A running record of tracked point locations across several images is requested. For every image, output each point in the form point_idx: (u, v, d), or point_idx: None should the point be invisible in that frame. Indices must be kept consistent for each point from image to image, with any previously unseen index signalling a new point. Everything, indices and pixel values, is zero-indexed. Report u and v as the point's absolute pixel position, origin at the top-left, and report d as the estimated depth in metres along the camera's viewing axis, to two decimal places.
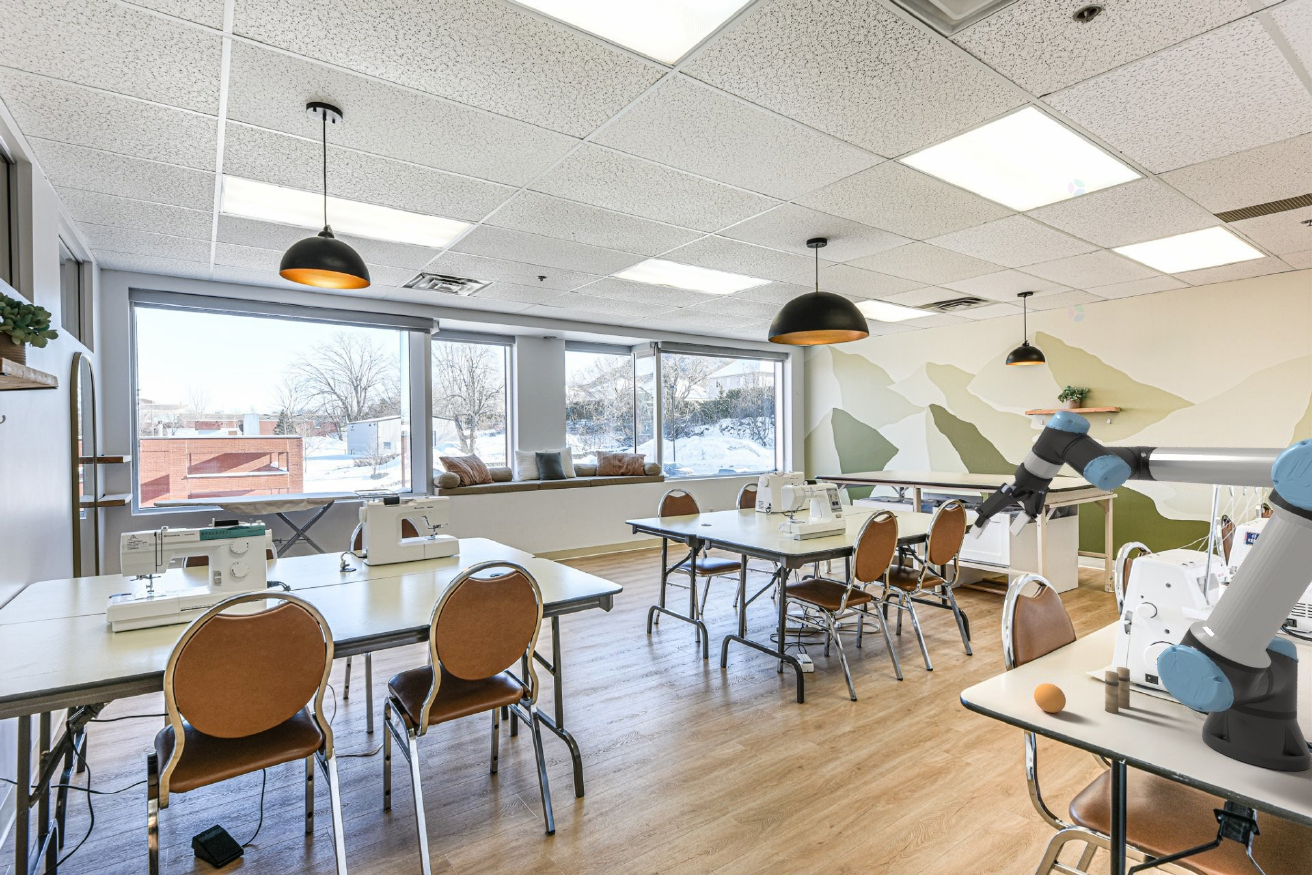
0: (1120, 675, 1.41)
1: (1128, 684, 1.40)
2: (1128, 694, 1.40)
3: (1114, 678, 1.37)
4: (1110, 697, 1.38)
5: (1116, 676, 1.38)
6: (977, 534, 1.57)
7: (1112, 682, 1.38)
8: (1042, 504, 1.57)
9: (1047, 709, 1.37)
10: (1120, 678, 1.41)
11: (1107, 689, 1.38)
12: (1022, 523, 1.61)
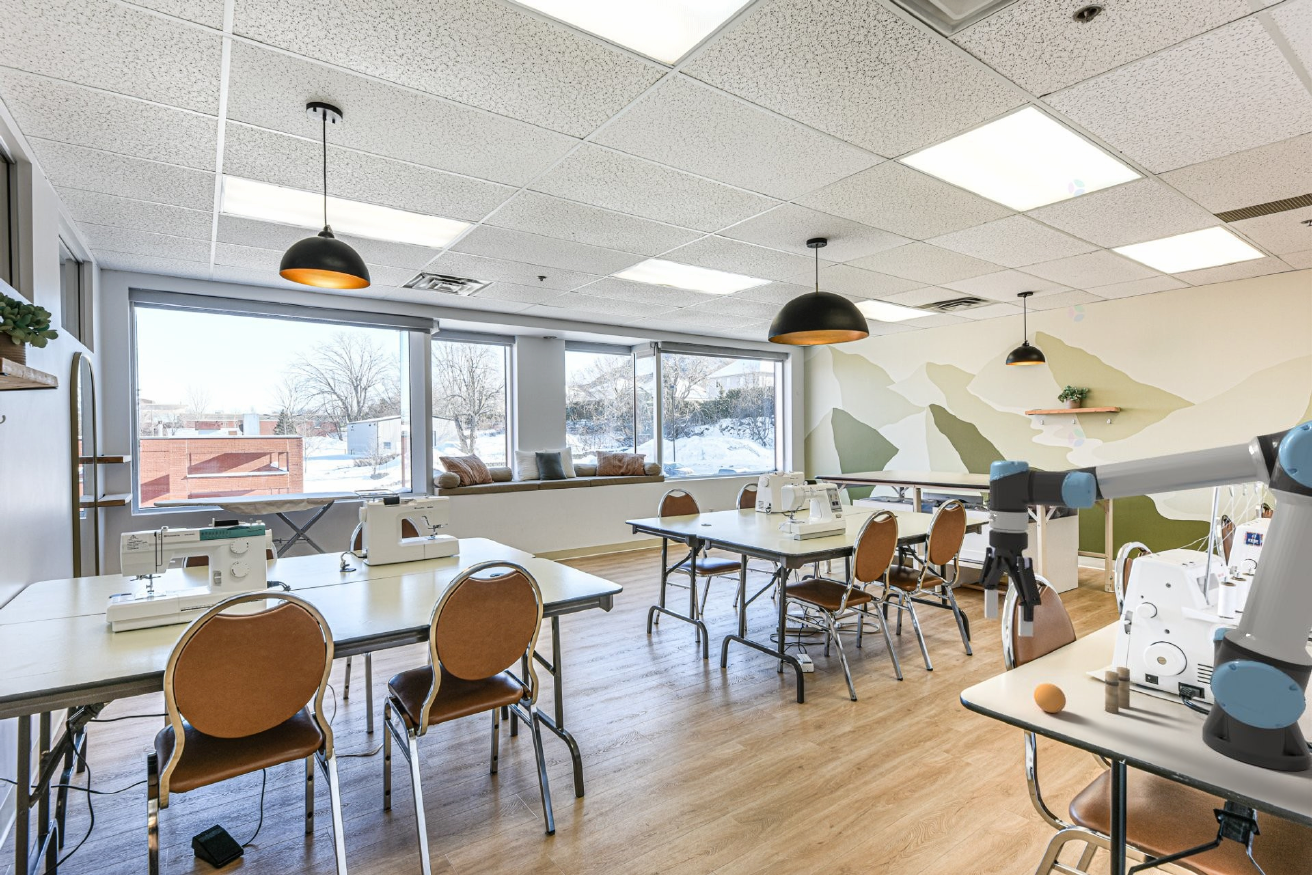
0: (1120, 675, 1.41)
1: (1128, 684, 1.40)
2: (1128, 694, 1.40)
3: (1114, 678, 1.37)
4: (1110, 697, 1.38)
5: (1116, 676, 1.38)
6: (1031, 630, 1.31)
7: (1112, 682, 1.38)
8: None
9: (1047, 709, 1.37)
10: (1120, 678, 1.41)
11: (1107, 689, 1.38)
12: (995, 600, 1.45)
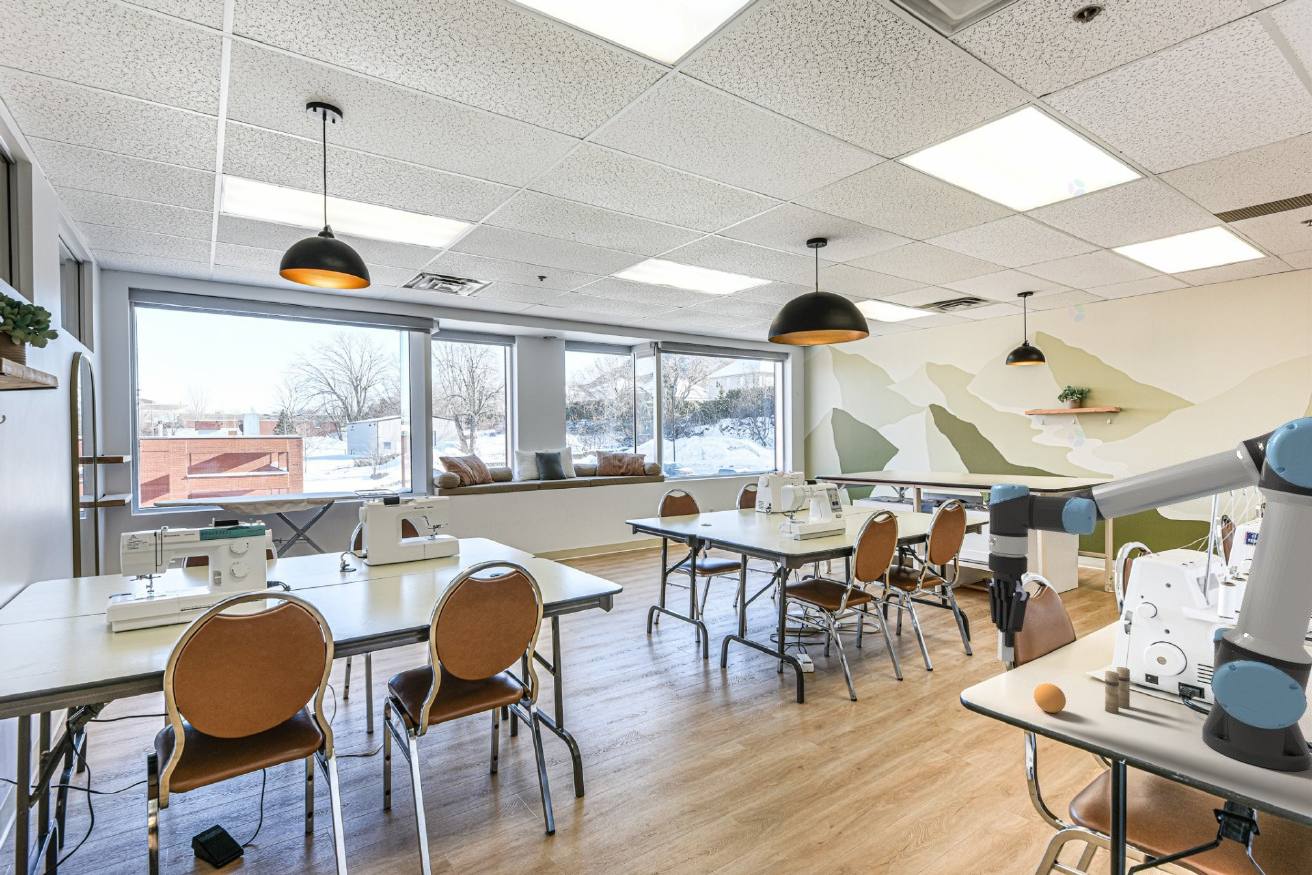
0: (1120, 675, 1.41)
1: (1128, 684, 1.40)
2: (1128, 694, 1.40)
3: (1114, 678, 1.37)
4: (1110, 697, 1.38)
5: (1116, 676, 1.38)
6: (1012, 655, 1.38)
7: (1112, 682, 1.38)
8: None
9: (1047, 709, 1.37)
10: (1120, 678, 1.41)
11: (1107, 689, 1.38)
12: None
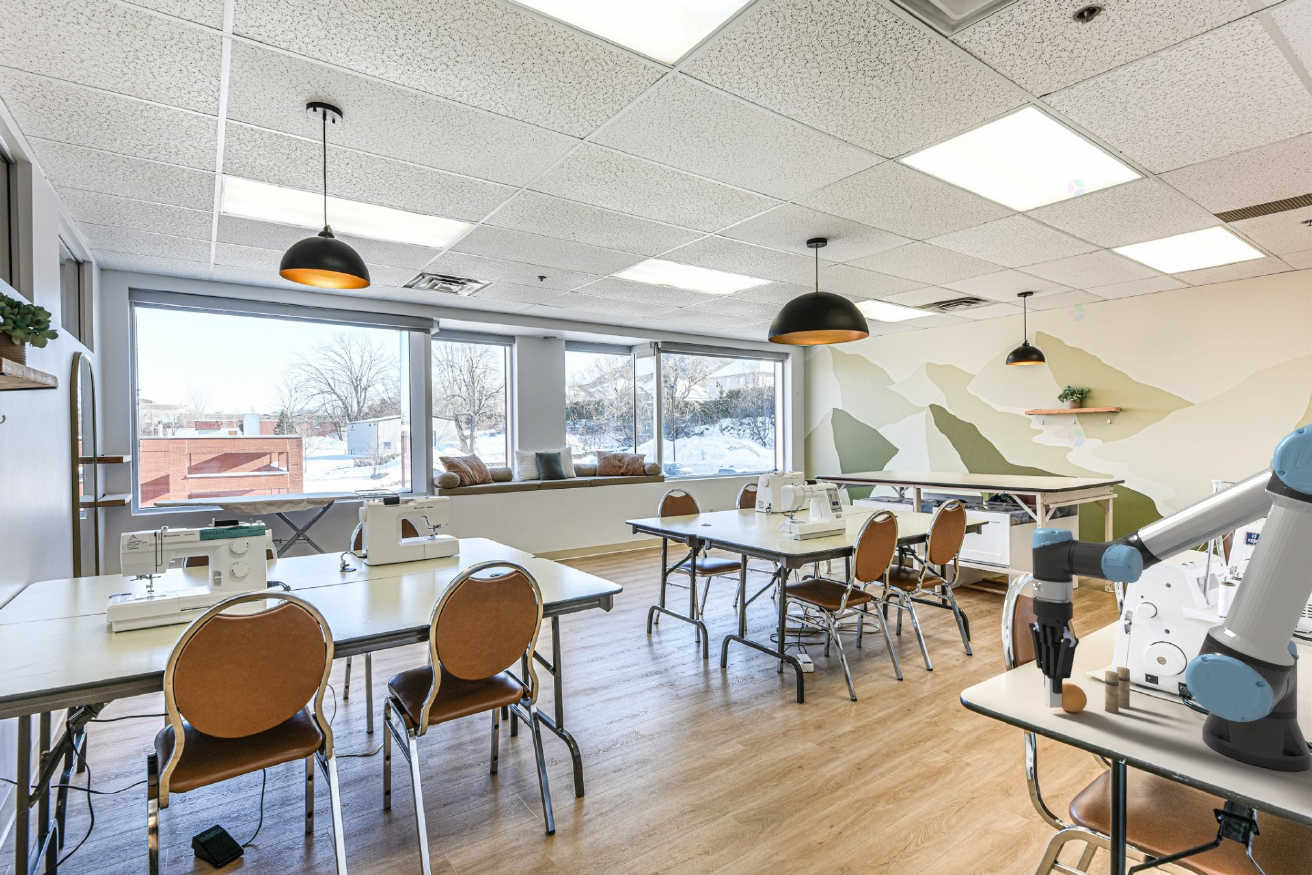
0: (1120, 675, 1.41)
1: (1128, 684, 1.40)
2: (1128, 694, 1.40)
3: (1114, 678, 1.37)
4: (1110, 697, 1.38)
5: (1116, 676, 1.38)
6: (1060, 701, 1.37)
7: (1112, 682, 1.38)
8: None
9: (1065, 696, 1.37)
10: (1120, 678, 1.41)
11: (1107, 689, 1.38)
12: None
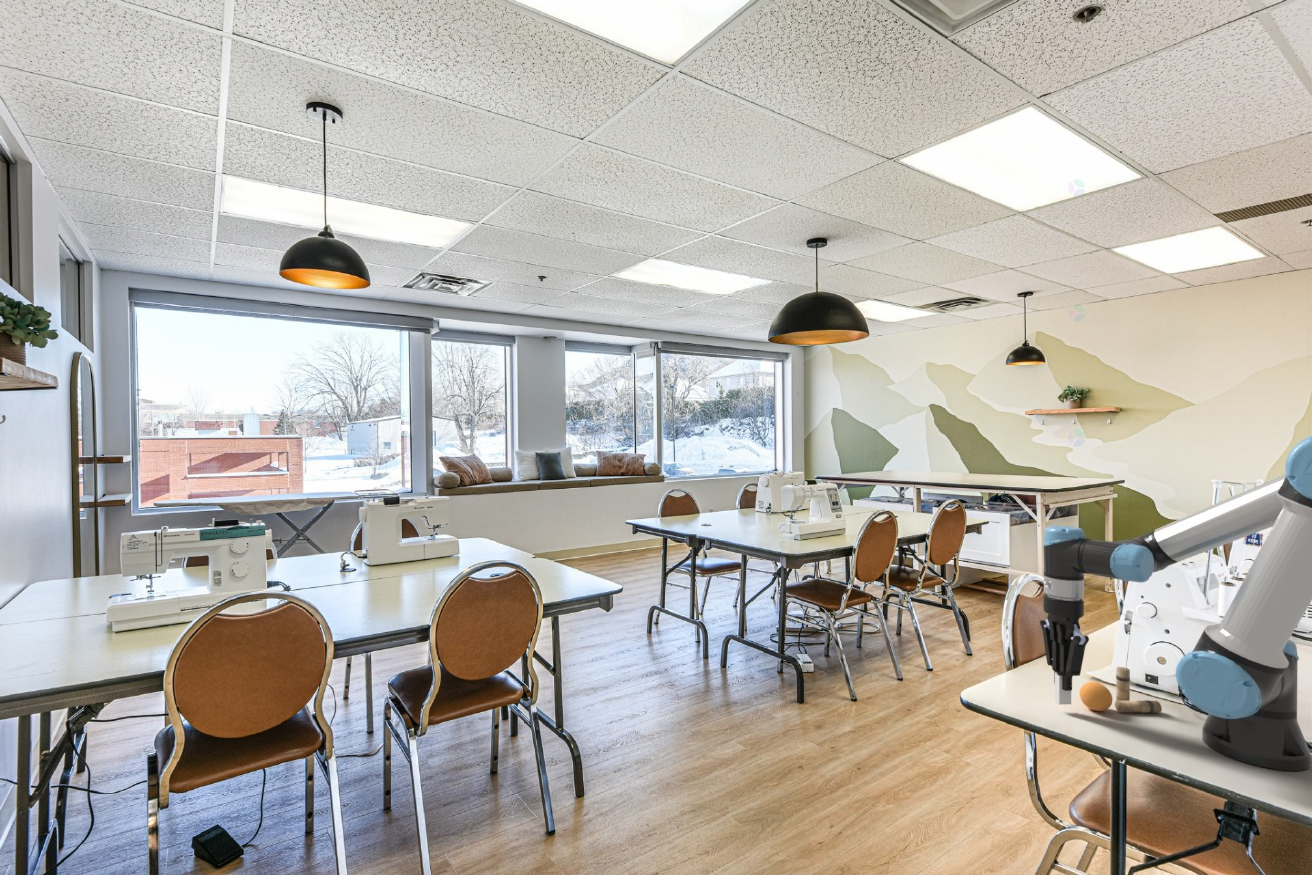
0: (1120, 675, 1.41)
1: (1128, 684, 1.40)
2: (1128, 694, 1.40)
3: (1158, 708, 1.37)
4: (1137, 705, 1.37)
5: (1159, 710, 1.37)
6: (1069, 698, 1.38)
7: (1153, 707, 1.37)
8: None
9: (1108, 690, 1.38)
10: (1120, 678, 1.41)
11: (1142, 702, 1.38)
12: None
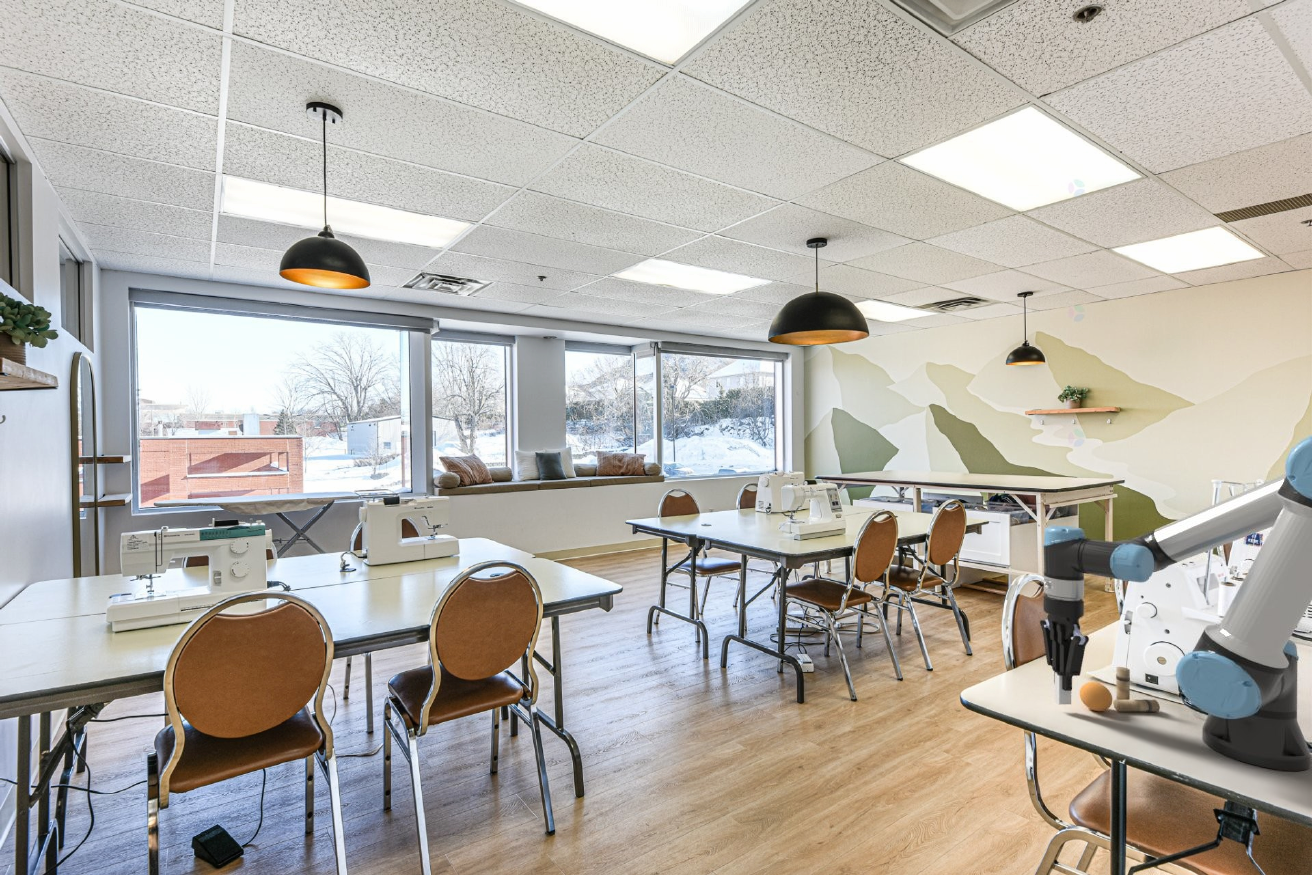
0: (1120, 675, 1.41)
1: (1128, 684, 1.40)
2: (1128, 694, 1.40)
3: (1156, 705, 1.38)
4: (1134, 702, 1.38)
5: (1158, 707, 1.38)
6: (1069, 698, 1.38)
7: (1150, 703, 1.38)
8: None
9: (1108, 690, 1.38)
10: (1120, 678, 1.41)
11: None
12: None
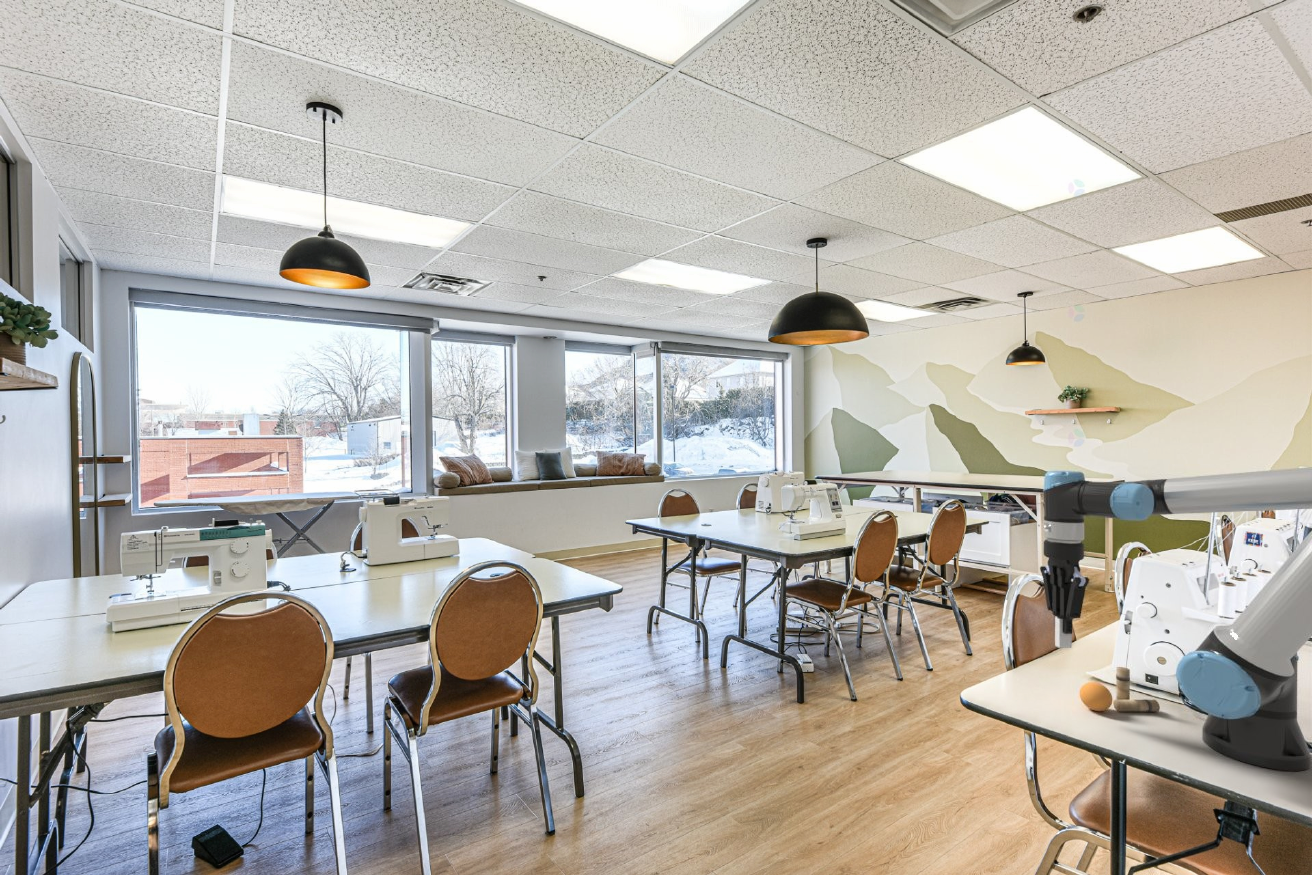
0: (1120, 675, 1.41)
1: (1128, 684, 1.40)
2: (1128, 694, 1.40)
3: (1156, 705, 1.38)
4: (1134, 702, 1.38)
5: (1158, 707, 1.38)
6: (1070, 642, 1.38)
7: (1150, 703, 1.38)
8: None
9: (1108, 690, 1.38)
10: (1120, 678, 1.41)
11: None
12: None
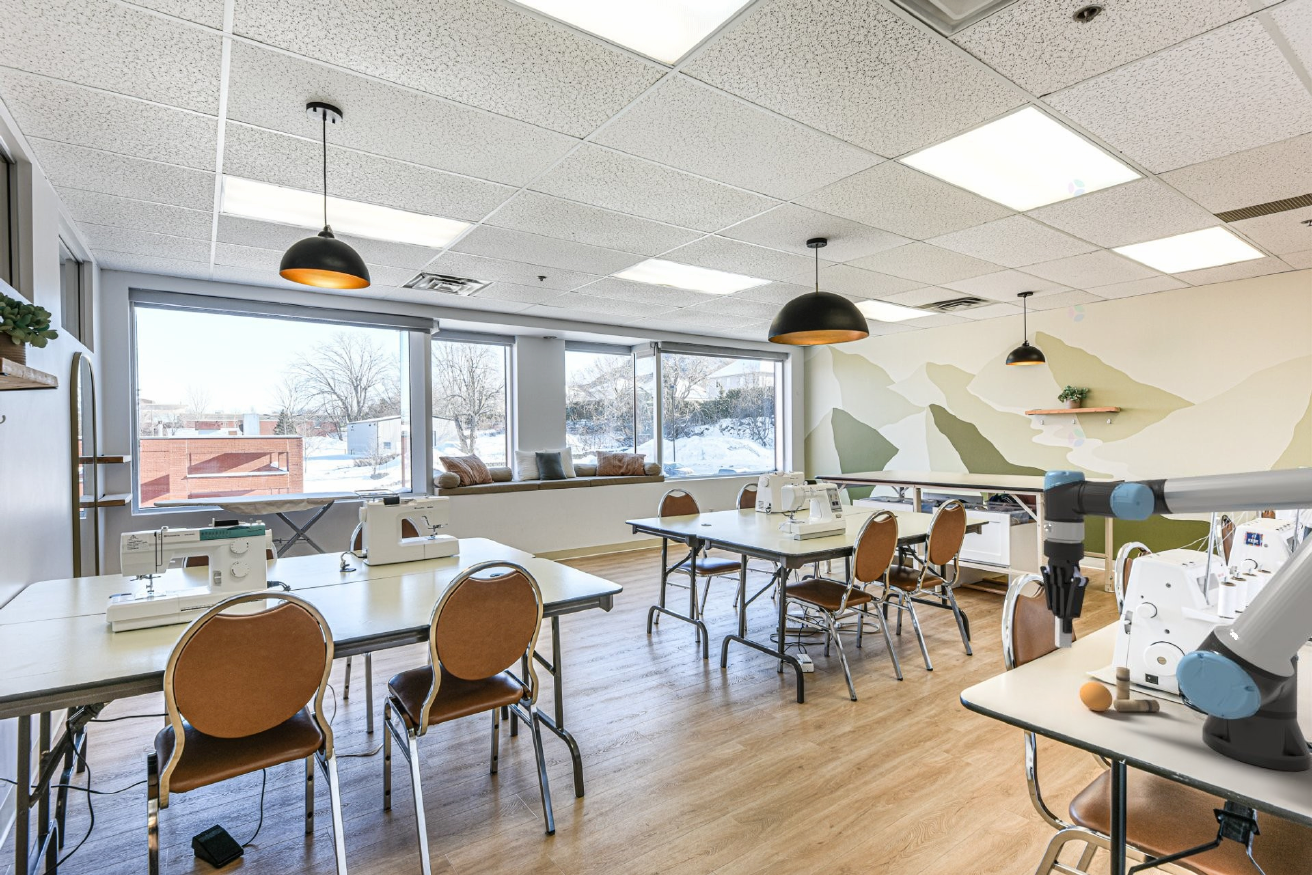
0: (1120, 675, 1.41)
1: (1128, 684, 1.40)
2: (1128, 694, 1.40)
3: (1156, 705, 1.38)
4: (1134, 702, 1.38)
5: (1158, 707, 1.38)
6: (1070, 641, 1.38)
7: (1150, 703, 1.38)
8: None
9: (1108, 690, 1.38)
10: (1120, 678, 1.41)
11: None
12: None
